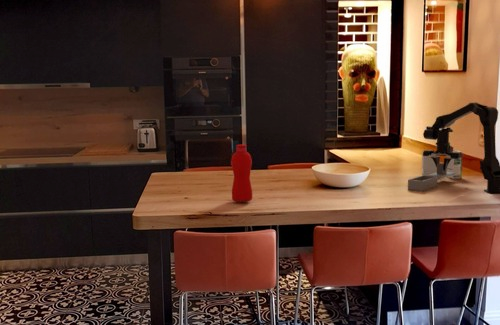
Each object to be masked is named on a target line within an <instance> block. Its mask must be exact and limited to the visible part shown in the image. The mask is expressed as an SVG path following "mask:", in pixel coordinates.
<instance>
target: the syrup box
mask: <svg viewBox="0 0 500 325" xmlns="http://www.w3.org/2000/svg"><path fill="white" fill-rule="evenodd" d="M453 152H462V151H461V150H453ZM447 172H455V175H452V176H448V177H447V178H448V179H451V178H452V179H462V178H463V176H462V174H463V173H462V172H463V157H462V158H459V159H455V158H454V159H451V160H450V162H449V164H448V166H447Z"/></svg>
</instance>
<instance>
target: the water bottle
mask: <svg viewBox="0 0 500 325" xmlns="http://www.w3.org/2000/svg"><path fill="white" fill-rule="evenodd" d="M235 148H236V151H235V152H234V153H233V154H232V156H231V162H230V164H231V168H232V174H233V180H232V181H233V182H232V187H231V199H232V201H233V202H236V203H237V202H250V201H253V187H252V184H251V179H250V178H251V171H252V164H253V161H252V155H251V154H250V153H249V152H248V151H247V145H246V144H236V147H235Z"/></svg>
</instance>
